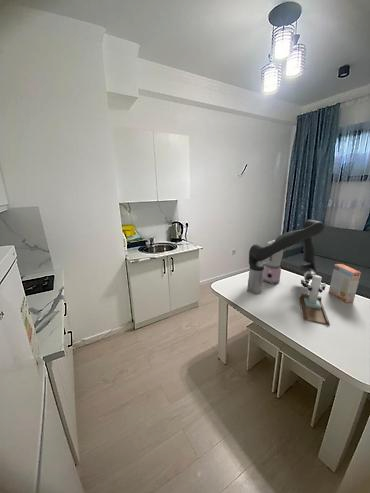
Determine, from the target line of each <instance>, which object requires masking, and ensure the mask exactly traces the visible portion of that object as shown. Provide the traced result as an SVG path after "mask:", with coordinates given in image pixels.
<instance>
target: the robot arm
mask: <svg viewBox="0 0 370 493" xmlns="http://www.w3.org/2000/svg"><path fill="white" fill-rule="evenodd" d="M324 230H325V225H324V223H323V222H322V221H318V220H315V219H306V220H305V221H304V223H303V226H302V229H298V230H297V229H295V230H291V231H288V232H285V233H282V234H281V235H278V236H277V237H276V238H275V239H274V240H275V241H274V243H272V244H271V245H268V246H267V245H266V246H262V245H261V244H253V245H252V246H251V247H250V249H249V251H248V265H249V268H248V270H249V271H248V279H247V288H246V289H247V290H246V292H248V293H250V294H253V295H260V294H262V291H263V290H262V289H263V282H264V281H263V272H264V266H265V265H264V263H263V261H266V259H267V258H269V257H270V256H272V255H274V254H275V253H277V252H279V251H281V250H283V251H284V250H285V249H287V248H290V247H292V246H294V245H296V244H298V243H301V242H303V258H302V259H303V260H302V261H303V262H306V263H301V264H300V265H299V269H298V270H299V272H300V274H302V275H303V276H304V278H303V279H301V280H300V285H301V286H302V287H304V288H307V290H308V291H309V292H310V291H311V289H312V288H311V282H312V277H313V275H317V273H316V272H317V266H316V262H315V260H316V247H315V245H314V244H315V243H314V241H313V237H315V236H318V235H320V234H321V233H322V232H323V231H324ZM326 286H327V283H326V282H323V283H322V282H321V284H320V289H319V293H320V294H322V293H323V291H325V290H326Z"/></svg>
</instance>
